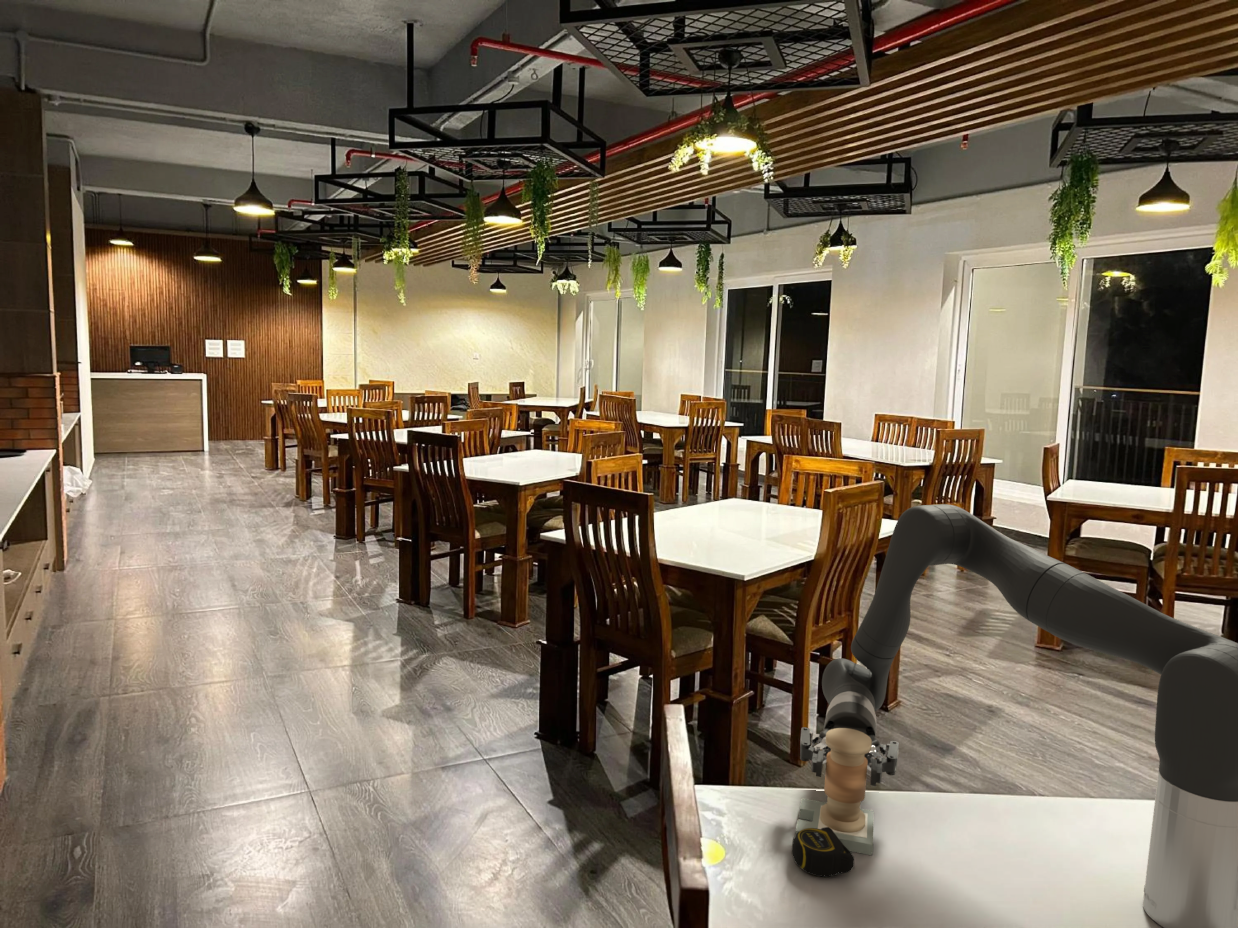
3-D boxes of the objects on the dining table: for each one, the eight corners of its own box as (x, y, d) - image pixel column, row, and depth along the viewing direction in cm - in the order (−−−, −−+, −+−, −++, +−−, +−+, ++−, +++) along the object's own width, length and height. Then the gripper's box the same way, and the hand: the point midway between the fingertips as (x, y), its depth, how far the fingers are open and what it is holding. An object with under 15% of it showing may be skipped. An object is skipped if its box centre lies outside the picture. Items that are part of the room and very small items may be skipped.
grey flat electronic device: (872, 820, 123) (873, 809, 122) (872, 855, 114) (873, 843, 114) (801, 807, 126) (801, 797, 125) (795, 840, 117) (795, 829, 117)
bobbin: (865, 813, 121) (871, 731, 120) (864, 835, 116) (871, 751, 114) (821, 805, 123) (827, 725, 121) (818, 827, 117) (824, 743, 116)
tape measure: (855, 880, 109) (857, 852, 108) (803, 884, 108) (805, 856, 107) (832, 849, 116) (833, 822, 115) (783, 853, 114) (785, 826, 114)
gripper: (803, 693, 133) (793, 739, 118) (902, 707, 129) (904, 756, 113) (800, 740, 134) (790, 791, 119) (898, 755, 130) (900, 810, 114)
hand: (846, 774), depth 116 cm, fingers open, 6 cm apart
